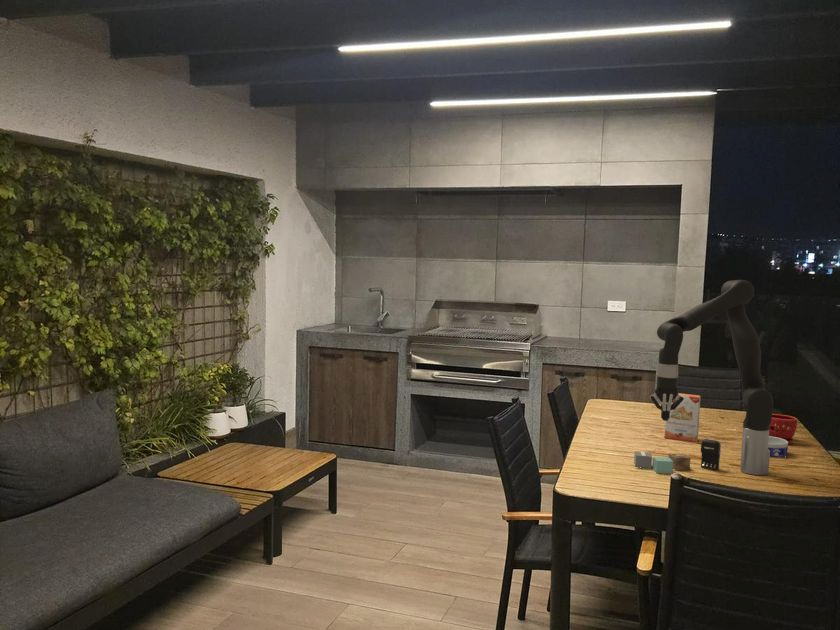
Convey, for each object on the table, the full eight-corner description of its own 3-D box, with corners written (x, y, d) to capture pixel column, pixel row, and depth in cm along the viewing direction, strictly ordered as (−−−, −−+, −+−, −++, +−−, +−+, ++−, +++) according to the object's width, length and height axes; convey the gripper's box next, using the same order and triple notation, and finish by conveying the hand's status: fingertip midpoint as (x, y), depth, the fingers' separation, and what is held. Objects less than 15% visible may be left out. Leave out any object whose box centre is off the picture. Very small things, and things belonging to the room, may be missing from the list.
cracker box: (664, 438, 325) (666, 393, 323) (666, 435, 330) (668, 391, 328) (696, 442, 318) (699, 397, 316) (698, 440, 323) (700, 395, 322)
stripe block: (649, 465, 280) (650, 452, 280) (651, 469, 275) (652, 456, 274) (633, 463, 282) (634, 451, 281) (635, 468, 276) (635, 455, 275)
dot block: (682, 466, 280) (683, 453, 280) (689, 470, 274) (690, 457, 274) (668, 466, 280) (668, 453, 279) (675, 470, 274) (675, 457, 274)
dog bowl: (765, 459, 295) (766, 444, 294) (739, 449, 309) (740, 435, 309) (795, 457, 299) (796, 443, 298) (768, 447, 313) (769, 434, 313)
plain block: (668, 469, 274) (668, 457, 274) (672, 474, 269) (673, 461, 268) (652, 469, 275) (652, 456, 275) (656, 473, 269) (656, 460, 269)
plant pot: (799, 446, 316) (801, 420, 315) (768, 444, 319) (769, 418, 318) (790, 439, 329) (792, 414, 328) (760, 437, 332) (761, 412, 331)
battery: (698, 467, 278) (700, 439, 277) (701, 465, 281) (703, 437, 280) (716, 471, 274) (718, 442, 273) (720, 469, 277) (721, 440, 276)
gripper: (682, 374, 272) (679, 418, 274) (647, 373, 273) (644, 417, 274) (688, 377, 265) (685, 423, 266) (652, 376, 266) (649, 421, 267)
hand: (664, 420), depth 270 cm, fingers closed
